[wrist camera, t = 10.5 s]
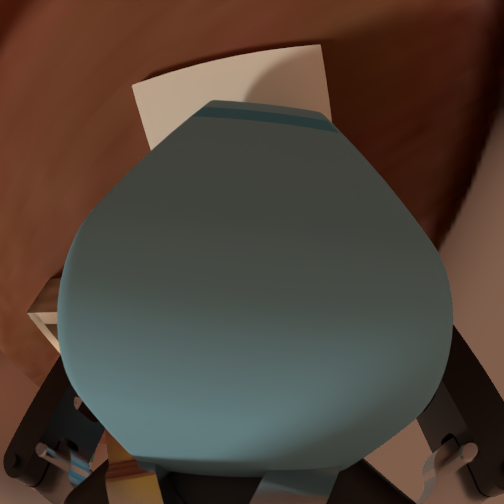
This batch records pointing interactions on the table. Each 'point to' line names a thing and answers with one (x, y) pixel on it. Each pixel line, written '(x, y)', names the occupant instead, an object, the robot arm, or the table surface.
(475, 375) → the robot arm
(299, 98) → the stone tile
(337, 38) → the table surface
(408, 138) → the table surface
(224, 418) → the data package
